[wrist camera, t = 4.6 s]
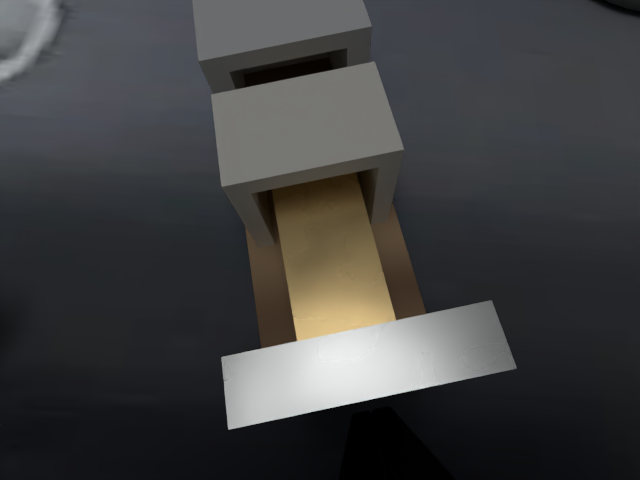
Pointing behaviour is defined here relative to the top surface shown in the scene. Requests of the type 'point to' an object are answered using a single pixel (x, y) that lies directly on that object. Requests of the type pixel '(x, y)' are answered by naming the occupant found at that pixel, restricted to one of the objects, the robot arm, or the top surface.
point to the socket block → (277, 36)
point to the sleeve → (306, 140)
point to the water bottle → (627, 4)
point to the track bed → (269, 259)
